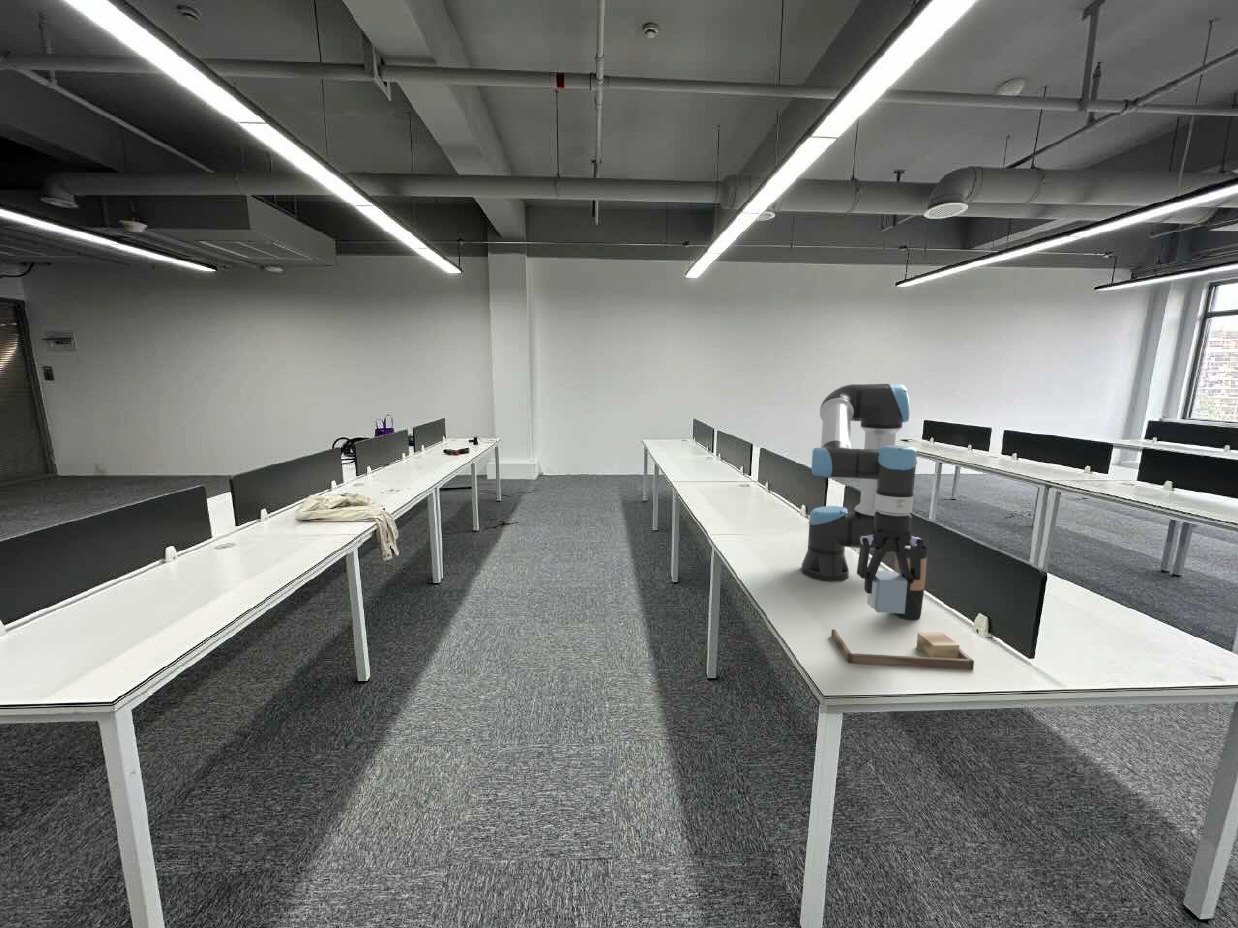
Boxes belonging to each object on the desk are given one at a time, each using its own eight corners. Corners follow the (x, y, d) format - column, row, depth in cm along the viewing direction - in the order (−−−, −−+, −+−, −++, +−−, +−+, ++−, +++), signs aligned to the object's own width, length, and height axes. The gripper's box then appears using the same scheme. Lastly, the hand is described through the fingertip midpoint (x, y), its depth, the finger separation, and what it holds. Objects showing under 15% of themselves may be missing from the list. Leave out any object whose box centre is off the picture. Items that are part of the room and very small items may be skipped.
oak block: (916, 647, 119) (917, 632, 118) (940, 647, 119) (941, 632, 118) (932, 661, 113) (934, 645, 112) (957, 660, 113) (959, 644, 112)
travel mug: (926, 621, 132) (932, 551, 129) (895, 619, 133) (901, 549, 130) (915, 609, 139) (921, 542, 136) (886, 607, 141) (891, 541, 138)
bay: (831, 636, 124) (831, 629, 124) (942, 641, 121) (943, 634, 121) (848, 663, 112) (849, 655, 112) (973, 669, 109) (974, 661, 109)
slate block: (867, 601, 119) (869, 570, 118) (892, 602, 118) (895, 571, 117) (877, 612, 113) (880, 579, 112) (904, 613, 112) (907, 580, 111)
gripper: (856, 515, 109) (849, 611, 113) (945, 517, 107) (936, 615, 111) (844, 507, 117) (838, 598, 120) (927, 509, 115) (919, 601, 118)
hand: (885, 606), depth 115 cm, fingers closed on slate block, 6 cm apart
